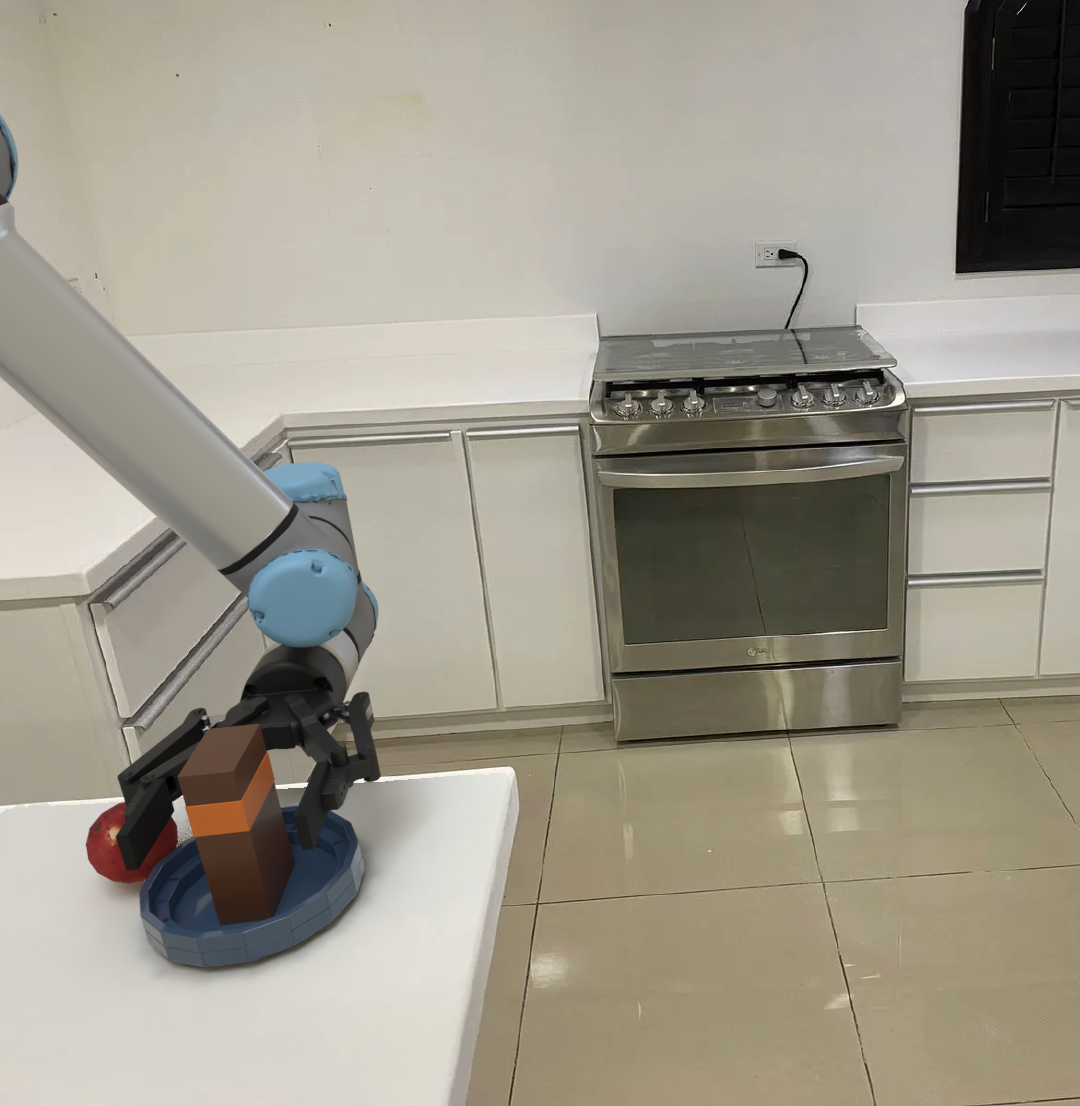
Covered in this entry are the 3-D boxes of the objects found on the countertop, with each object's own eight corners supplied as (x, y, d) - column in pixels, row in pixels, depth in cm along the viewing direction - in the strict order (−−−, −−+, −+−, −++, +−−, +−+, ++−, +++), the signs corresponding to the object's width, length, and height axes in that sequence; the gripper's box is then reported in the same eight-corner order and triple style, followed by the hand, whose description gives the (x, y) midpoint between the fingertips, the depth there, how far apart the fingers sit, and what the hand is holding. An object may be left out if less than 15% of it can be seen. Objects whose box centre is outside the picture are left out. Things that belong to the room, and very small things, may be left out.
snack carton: (218, 926, 74) (175, 777, 69) (245, 869, 79) (207, 728, 75) (273, 919, 74) (233, 771, 70) (296, 863, 80) (260, 722, 75)
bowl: (116, 986, 70) (103, 949, 69) (192, 850, 83) (182, 818, 82) (341, 958, 71) (332, 922, 70) (380, 829, 84) (374, 796, 83)
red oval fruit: (90, 862, 81) (45, 849, 73) (143, 794, 83) (104, 775, 76) (156, 901, 80) (117, 892, 73) (207, 832, 83) (175, 816, 75)
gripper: (447, 705, 93) (405, 868, 73) (170, 734, 91) (47, 910, 70) (433, 627, 90) (386, 774, 70) (148, 655, 88) (12, 814, 68)
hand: (216, 842), depth 70 cm, fingers open, 10 cm apart
